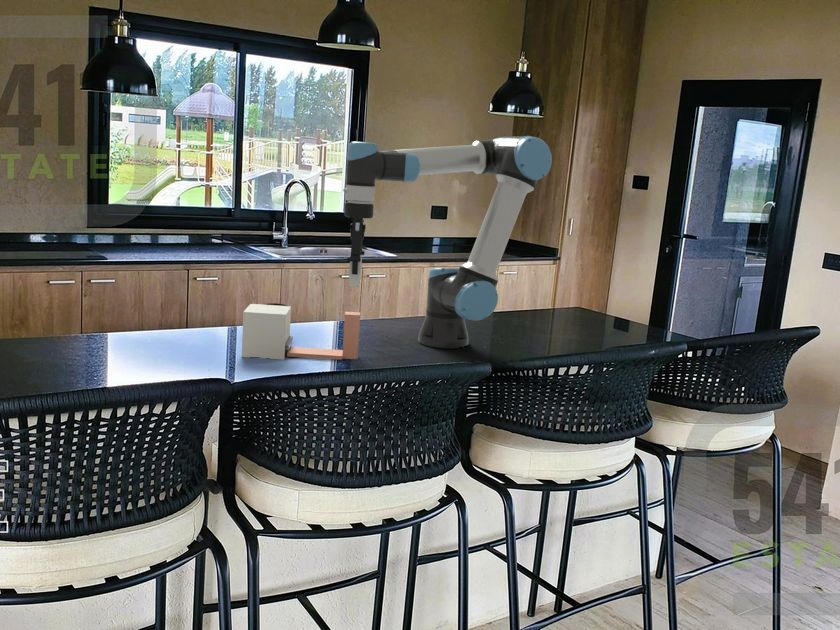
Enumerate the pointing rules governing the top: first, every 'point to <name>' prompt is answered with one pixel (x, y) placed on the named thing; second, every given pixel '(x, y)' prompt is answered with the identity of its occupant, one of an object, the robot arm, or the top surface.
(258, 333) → the off-white block
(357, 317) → the orange l-shaped bracket
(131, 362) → the top surface
